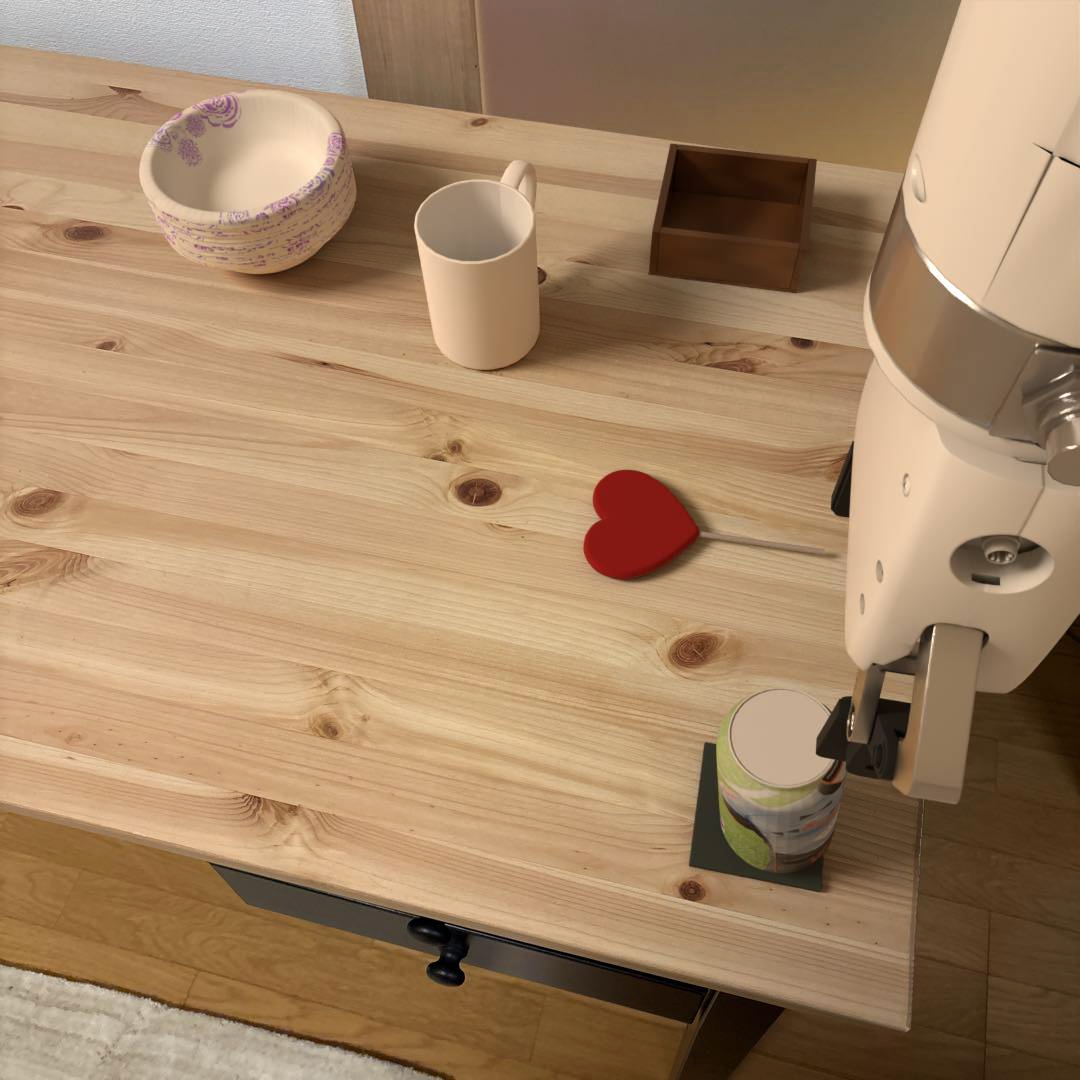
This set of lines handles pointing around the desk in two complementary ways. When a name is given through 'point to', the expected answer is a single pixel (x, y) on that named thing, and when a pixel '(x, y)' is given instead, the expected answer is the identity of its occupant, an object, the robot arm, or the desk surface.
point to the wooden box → (733, 217)
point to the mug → (482, 268)
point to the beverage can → (777, 780)
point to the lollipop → (645, 527)
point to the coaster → (716, 851)
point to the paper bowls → (249, 180)
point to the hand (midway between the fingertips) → (867, 626)
